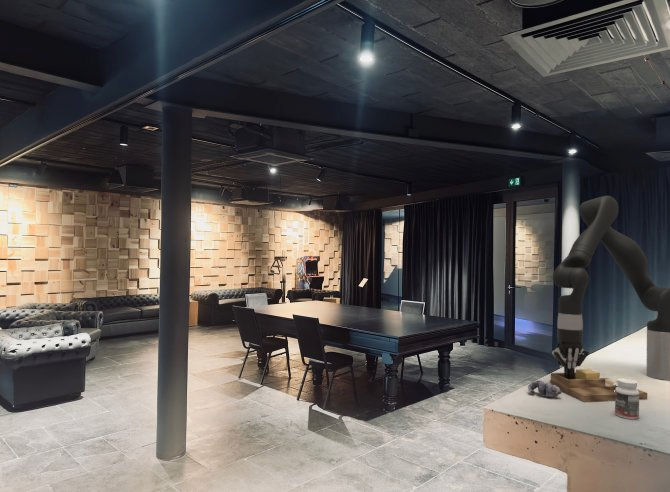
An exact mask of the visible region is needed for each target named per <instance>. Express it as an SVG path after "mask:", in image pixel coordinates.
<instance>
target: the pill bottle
mask: <svg viewBox="0 0 670 492" xmlns="http://www.w3.org/2000/svg"><path fill="white" fill-rule="evenodd" d="M617 384H618V387H616V389H615V401H614V412H615V413H614V414H615V415H616V416H618V417H621V418H622V419H626V420H627V419H628V420H637V419H639V417H640V400H639V391H638V390H639V389H638V388H637V387H638V382H637V381H636V380H633V379H629V378H623V377H622V378H618V379H617ZM637 389H638V390H637Z"/></svg>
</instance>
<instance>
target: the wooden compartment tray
mask: <svg viewBox="0 0 670 492" xmlns="http://www.w3.org/2000/svg"><path fill="white" fill-rule="evenodd" d="M603 378H604V379H605V387H589V388H566V387H564V386H562V385H560V384H557V383H555V382H553V381H551V379H549V383H550V384H552V385H556V386H557V387H559V388H560V390H561V391H562V393H564V394H565V395H568V396H570V397H572V398H575V399H576V400H578V401H580V402H582V403H593V402H594V403H597V402H598V403H599V402H600V403H601V402H615V392H614V390H615V389H616V387H618V386H616V385H613V384H614V383H617V381H616V380H613V379H611V378H608V377H603ZM636 389H637V390H638V391H639V401H641V400H643V401H644V400H648V392H646V391H643V390H640V389H638V388H636Z"/></svg>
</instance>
